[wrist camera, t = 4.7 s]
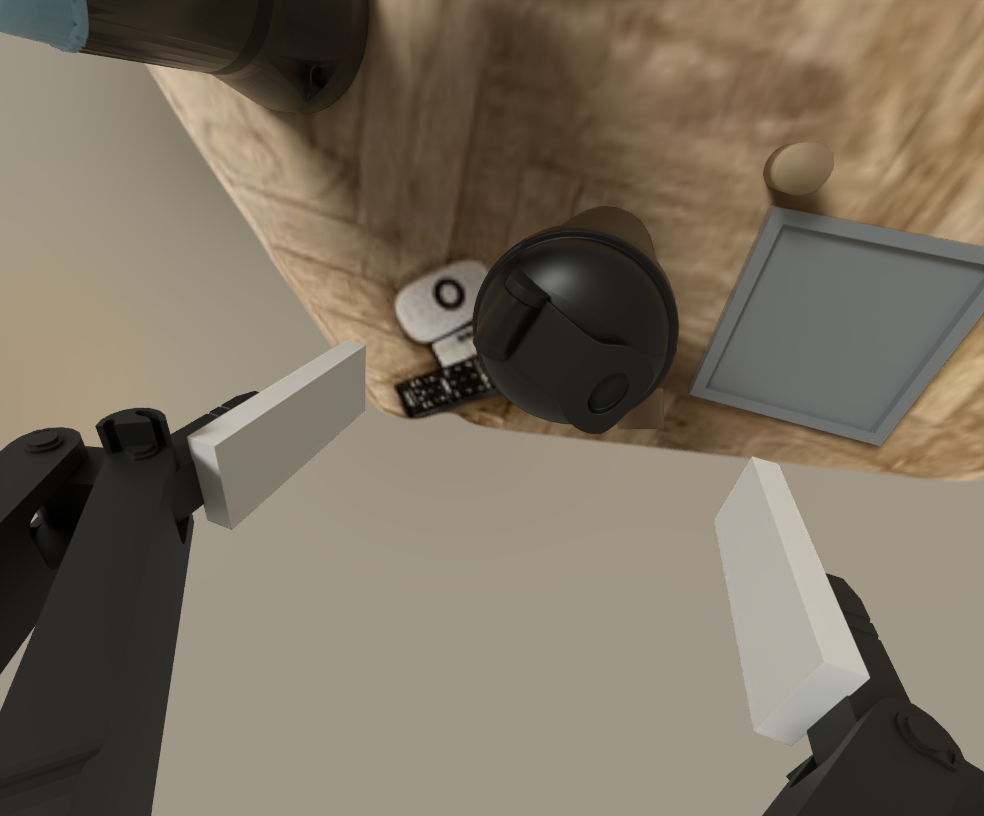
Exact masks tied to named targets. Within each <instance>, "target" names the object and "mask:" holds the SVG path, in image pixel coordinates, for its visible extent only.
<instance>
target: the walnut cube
mask: <svg viewBox="0 0 984 816" xmlns="http://www.w3.org/2000/svg"><path fill="white" fill-rule="evenodd" d="M618 429H664V390H663V381H662V382H661V384H660V385H659V386H658V388H657V389H656V390H655V391H654V392H653V393H652V394H651V395H650V396H649V397H648V398H647V399H646V400H645V401H644V402H643V403H641V404H640V405H639V406H637V407H636V408H634V409H633V410H631V411H629V412H628V413H627V414H626V415H625V416H624V417H623V418H622V419H621V420H620V421H619V422H618Z"/></svg>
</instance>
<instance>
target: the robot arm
mask: <svg viewBox="0 0 984 816" xmlns="http://www.w3.org/2000/svg"><path fill="white" fill-rule="evenodd" d="M367 30H368V0H0V32H3V33H6V34H10V35H14V36H19V37H22V38H26V39H30V40H35V41H39V42H43V43H47V44H49V45H50V46H52V47H55V48H58V49H60V50H61V51H64V52H70V53H77V52H80V53H86V54H92V55H98V56H104V57H110V58H117V59H123V60H129V61H136V62H141V63H147V64H153V65H159V66H165V67H171V68H177V69H184V70H190V71H196V72H203V73H208V74H212V75H213V76H215V77H216V78H218V79H219V80H221V81H223V82H224V83H226V84H227V85H229V86H230V87H232V88H233V89H235V90H237V91H238V92H240V93H241V94H243V95H244V96H246V97H247V98H249V99H250V100H252V101H254V102H256V103H257V104H260V105H262V106H264V107H267V108H270V109H273V110H277V111H282V112H290V113H300V114H305V113H313V112H317V111H320V110H322V109H324V108H326V107H328V106H330V105H331V104H333V103H334V102H335V101H337V100H338V99H339V98H340V97H341V96H342V95H343V94H344V92H345V91H346V90H347V88H348V87H349V86H350V84H351V82H352V81H353V79H354V77H355V75H356V73H357V71H358V68H359V66H360V63H361V60H362V57H363V53H364V49H365V44H366V38H367ZM365 352H366V345H362V344H359V343H355V342H352V341H348V340H345V341H344V342H342V343H340V344H339V345H337V346H335V347H334V348H332V349H331V350H329V351H327V352H326V353H324V354H322V355H321V356H319V357H318V358H316V359H314V360H313V361H311V362H309V363H307V364H306V365H304V366H303V367H301V368H299V369H298V370H296V371H294V372H293V373H291V374H289V375H288V376H286V377H285V378H283V379H281V380H279V381H278V382H276V383H275V384H273V385H271V386H270V387H268V388H266V389H265V390H263V391H261V392H257V391H253V392H249V393H246V394H243V395H239V396H236V397H234V398H233V399H231V400H229V401H228V402H226V403H224V404H222V406H221V407H217V408H215V409H214V410H212V411H210V413H209V414H205V415H203V416H202V417H200V418H198V419H197V420H195V421H193V422H191V423H190V424H188V425H186V426H185V427H183V428H181V429H179V430H178V431H176V432H174V433H173V434H171V435H170V431H169V428H168V424H167V420H166V417H165V415H164V414H163V413H162V412H161V411H159V410H155V409H151V408H133V409H127V410H122V411H119V412H116V413H113V414H111V415H109V416H107V417H105V418H103V419H102V420H101V421H100V422H99V423H98V424H97V425H96V426H95V427H96V429H97V432H98V435H99V437H100V440H101V442H102V445H103V448H101V447H100V448H99V447H89V446H85V445H84V443H83V440H82V438H81V435H80V433H79V432H78V431H76V430H74V429H70V428H63V427H60V428H46V429H42V430H36V431H33V432H31V433H28V434H26V435H23V436H21V437H19V438H17V439H16V440H14V441H13V442H11V443H10V444H8V445H7V446H6V447H5V448H4V449H3V450H1V451H0V674H1V673H2V671H3V670H4V668H5V667H6V666H7V664H8V663H9V661H10V660H11V659H12V657H13V656H14V655H15V653H16V652H17V650H18V649H19V648H20V646H21V645H22V643H23V642H24V641H25V639H26V638H27V636H28V635H29V633H30V632H31V631H32V629H33V628H34V627H35V628H34V631H33V633H32V636H31V638H30V641H29V643H28V645H27V648H26V650H25V653H24V655H23V658H22V660H21V662H20V665H19V667H18V670H17V672H16V674H15V677H14V679H13V682H12V684H11V687H10V689H9V691H8V694H7V696H6V699H5V701H4V704H3V706H2V709H1V711H0V816H151V812H152V804H153V797H154V791H155V784H156V777H157V770H158V763H159V756H160V749H161V743H162V736H163V729H164V722H165V716H166V709H167V702H168V695H169V689H170V682H171V675H172V669H173V668H172V667H173V662H174V655H175V648H176V641H177V635H178V628H179V621H180V614H181V607H182V601H183V593H184V587H185V579H186V573H187V567H188V560H189V553H190V546H191V539H192V532H193V526H194V520H193V515H192V513H193V512H194V511H195V510H197V509H198V508H199V507H200V506H202V505H203V504H204V508H205V512H206V516H207V520H208V521H210V522H213V523H216V524H218V525H221V526H223V527H226V528H229V529H231V530H232V529H233V528H235V527H236V526H237V525H238V524H239V523H240V522H241V521H242V520H243V519H245V518H246V517H247V516H248V515H249V514H250V513H251V512H252V511H253V510H255V509H256V508H257V507H258V506H259V505H260V504H261V503H262V502H263V501H265V500H266V499H267V498H268V497H269V496H270V495H271V494H272V493H273V492H275V491H276V490H277V489H278V488H279V487H280V486H281V485H282V484H283V483H284V482H286V481H287V480H288V479H289V478H290V477H291V476H292V475H293V474H295V473H296V472H297V471H298V470H299V469H300V468H301V467H302V466H304V465H305V464H306V463H307V462H308V461H309V460H310V459H311V458H312V457H314V456H315V455H316V454H317V453H318V452H319V451H320V450H321V449H323V448H324V447H325V446H326V445H327V444H328V443H329V442H330V441H331V440H333V439H334V438H335V437H336V436H337V435H338V434H339V433H340V432H341V431H342V430H344V429H345V428H346V427H347V426H348V425H349V424H350V423H351V422H353V421H354V420H355V419H356V418H357V417H358V416H359V415H360V414H361V413H363V412H364V411H365ZM35 513H37V515H38V517H37V518H36V519H35V520H34V521H33V522H32V523H31V520H32V518H33V517H34V515H35ZM714 522H715V527H716V533H717V538H718V544H719V549H720V554H721V560H722V565H723V570H724V576H725V581H726V586H727V592H728V597H729V602H730V608H731V613H732V619H733V624H734V629H735V634H736V640H737V645H738V651H739V656H740V661H741V667H742V672H743V678H744V683H745V688H746V693H747V698H748V704H749V709H750V715H751V721H752V725H753V731H754V732H756V733H758V734H761V735H763V736H766V737H769V738H771V739H774V740H777V741H779V742H782V743H784V744H787V745H790V746H793V745H794V744H795V743H796V742H797V741H798V740H799V739H801V738H802V737H803V736H804V735H805V734H806V733H807V734H808V738H809V741H810V745H811V749H812V752H813V755H812V756H810V757H809V758H808V759H807V760H805V761H804V762H803V763H802V764H800V765H799V766H798V767H797V768H795V769H794V770H793V771H792V772H791V773H789V774H788V775H787V776H786V777H787V778H788V779H789V780H790V781H789V782H788V783H787V784H786V786H785V787H784V788H783V790H782V791H781V792H780V793H779V795H778V796H777V797H776V799H775V800H774V801H773V802H772V804H771V805H770V806H769V808H768V809H767V810H766V811H765V813H764V814H763V815H762V816H984V772H983V771H982V770H980V769H979V768H977V767H975V766H974V765H972V764H970V763H969V762H967V761H966V760H965V759H964V757H963V755H962V752H961V750H960V748H959V747H958V745H957V744H956V743H955V741H954V740H953V739H952V737H951V736H950V735H949V733H948V732H947V731H946V730H945V729H944V728H943V727H942V726H941V725H940V724H939V723H938V722H937V721H936V720H935V719H934V718H932V716H930V715H929V714H927V713H926V712H924V711H923V710H921V709H920V708H919V707H917V706H916V705H914V704H912V703H911V702H910V700H909V698H908V696H907V694H906V692H905V690H904V687H903V685H902V683H901V681H900V680H899V677H898V675H897V673H896V671H895V669H894V667H893V665H892V663H891V661H890V659H889V657H888V655H887V652H886V650H885V648H884V646H883V644H882V642H881V641H880V640H878V637H879V636H878V634H877V632H876V630H875V628H874V626H873V624H872V623H870V617H869V615H868V613H867V611H866V609H865V607H864V605H863V603H862V601H861V599H860V598H859V597H858V595H857V594H856V593H855V592H854V591H853V590H852V589H851V588H850V586H849V585H848V584H847V583H846V582H845V581H844V579H842V578H839V577H836V576H833V575H830V574H826V573H825V572H824V569H823V567H822V565H821V562H820V560H819V558H818V555H817V553H816V551H815V548H814V546H813V544H812V541H811V539H810V537H809V534H808V532H807V530H806V527H805V525H804V523H803V520H802V518H801V516H800V513H799V511H798V509H797V507H796V504H795V502H794V500H793V497H792V495H791V493H790V490H789V488H788V485H787V483H786V481H785V479H784V476H783V474H782V472H781V469H780V467H779V465H778V464H776V463H773V462H769V461H766V460H763V459H759V458H756V457H751V459H750V460H749V462H748V464H747V466H746V467H745V469H744V471H743V472H742V474H741V476H740V477H739V479H738V481H737V482H736V484H735V486H734V488H733V489H732V491H731V493H730V494H729V496H728V498H727V499H726V501H725V503H724V505H723V506H722V508H721V510H720V512H719V513H718V515H717V516H716V518H715V520H714ZM35 625H36V626H35Z"/></svg>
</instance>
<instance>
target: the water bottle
mask: <svg viewBox="0 0 984 816" xmlns="http://www.w3.org/2000/svg"><path fill="white" fill-rule="evenodd" d="M472 326H473V335H474V338H473V344H474V346H475V347H476V351H477V354H478V357H479V360H480V362H481V365H482V367H483V369H484V371H485V372H486V374H487V376H488V377H489V379H490V380H491V382H492V383H493V384H494V386H495V387H496V388H497V389H498V390H499V391H500V392H501V393H502V394H503V395H504V396H505V397H506V398H507V399H508V400H509V401H511V402H512V403H513V404H515V405H516V406H517V407H519V408H521V409H522V410H524V411H526V412H528V413H529V414H532V415H534V416H536V417H539V418H541V419H544V420H548V421H551V422H556V423H562V424H572V425H573V426H574V427H576V428H578V429H579V430H581V431H584V432H586V433H591V434H601V433H603V432H605V431H607V430H608V429H610V428H612V427H613V426H614V425H615V424H616V423H617V422H619V421H620V420H621V419H622V418H623V417H624V416H625V415H626V414H627V413H628V412H629V411H631V410H633V409H634V408H636V407H637V406H639V405H640V404H641V403H643V402H644V401H645V400H646V399H647V398H648V397H649V396H650V395H651V394H652V393H653V392H654V391H655V390H656V389H657V388H658V386H659V385H660V384H661V382H662V381H663V379H664V378H665V376H666V375H667V373H668V371H669V369H670V367H671V364H672V362H673V359H674V356H675V353H676V350H677V341H678V330H679V323H678V313H677V307H676V303H675V298H674V294H673V291H672V288H671V285H670V282H669V280H668V278H667V276H666V274H665V272H664V271H663V269H662V268H661V266H660V265H659V263H658V262H657V260H656V256H655V253H654V249H653V245H652V241H651V238H650V235H649V233H648V231H647V229H646V228H645V226H644V225H643V224H642V222H641V221H640V220H639V219H638V218H636V217H635V216H634V215H632V214H631V213H629V212H627V211H625V210H623V209H620V208H616V207H597V208H592V209H589V210H587V211H584V212H582V213H580V214H579V215H577V216H575V217H574V218H572V219H571V220H569V221H567V222H566V223H564V224H562V225H561V226H556V227H552V228H549V229H546V230H543V231H540V232H538V233H536V234H534V235H532V236H530V237H528V238H525V239H524V240H522V241H521V242H519V243H518V244H517V245H515V246H514V247H512V248H511V249H510V250H508V251H507V252H506V253H505V254H504V255H503V256H502V257H501V258H500V259H499V260H498V261H497V262H496V263H495V264H494V266H493V267H492V268H491V270H490V271H489V273H488V274H487V276H486V277H485V279H484V281H483V283H482V285H481V287H480V290H479V292H478V295H477V298H476V302H475V306H474V311H473V322H472Z"/></svg>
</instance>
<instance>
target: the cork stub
mask: <svg viewBox="0 0 984 816" xmlns="http://www.w3.org/2000/svg"><path fill="white" fill-rule="evenodd" d="M833 166H834V156H833V153H832V151H831V150H830V148H829V147H827V146H826V145H825V144H822V143H819V142H807V143H794V144H788V145H785V146H782V147H780V148H779V149H777V150H776V151H775V152H774V153H773V154H772V155H771V156H770V157H769V158H768V160H767V162H766V164H765V167H764V172H763V174H764V180H765V182H766V184H767V185H768V186H769V187H770V188H772V189H774V190H777V191H781V192H785V193H788V194H792V195H805V194H808V193H811V192H813V191H815V190H817V189H818V188H819V187H821V186H822V185H823V184H824V183H825V182H826V181H827V179H828V178H829V176H830V174H831V172H832V170H833Z"/></svg>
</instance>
